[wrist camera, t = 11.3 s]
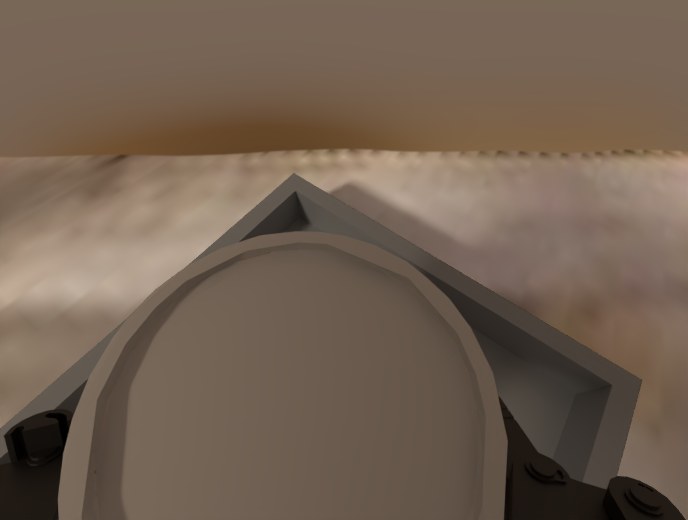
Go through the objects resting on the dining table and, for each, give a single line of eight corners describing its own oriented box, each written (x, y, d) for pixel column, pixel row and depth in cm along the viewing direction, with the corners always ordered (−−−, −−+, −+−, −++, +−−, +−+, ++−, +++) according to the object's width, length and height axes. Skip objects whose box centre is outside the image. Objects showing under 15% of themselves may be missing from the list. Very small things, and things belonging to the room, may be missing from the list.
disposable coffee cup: (452, 463, 16) (643, 475, 6) (283, 617, 14) (106, 1131, 3) (344, 314, 20) (349, 168, 10) (196, 408, 18) (-6, 340, 7)
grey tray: (4, 486, 18) (-77, 495, 14) (299, 208, 27) (293, 173, 24) (377, 1024, 11) (397, 1299, 7) (590, 392, 21) (642, 380, 17)
